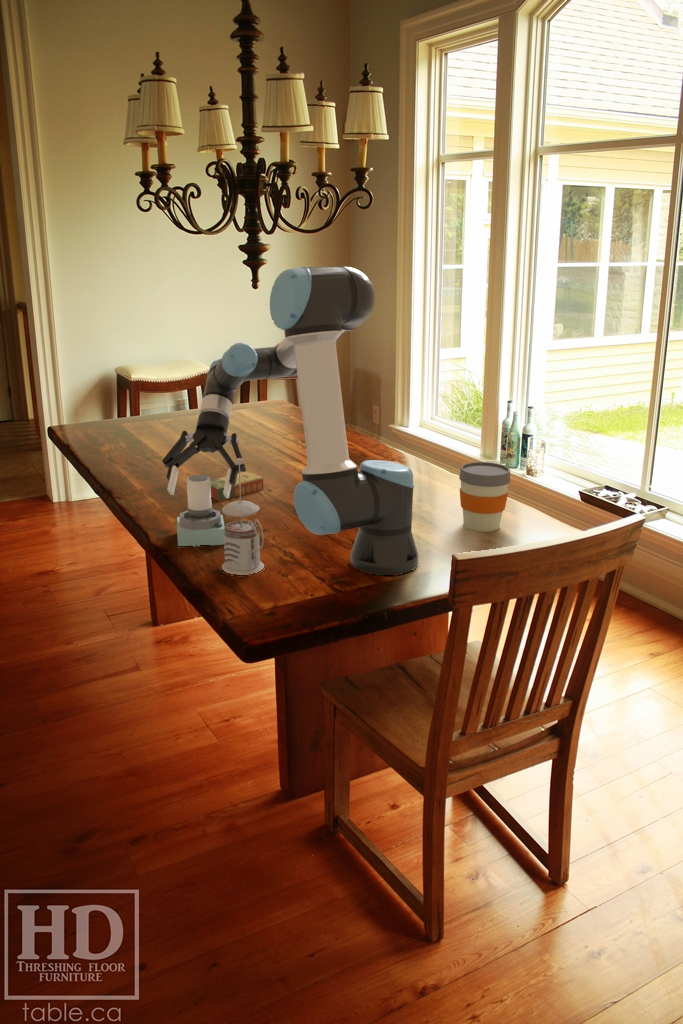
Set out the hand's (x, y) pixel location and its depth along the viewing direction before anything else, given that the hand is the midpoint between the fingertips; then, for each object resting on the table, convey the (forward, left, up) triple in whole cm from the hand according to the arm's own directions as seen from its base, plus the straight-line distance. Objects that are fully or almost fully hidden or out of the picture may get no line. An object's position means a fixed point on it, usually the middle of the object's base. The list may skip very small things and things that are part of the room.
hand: (197, 494), depth 198 cm
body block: (0, 0, -11) cm, 11 cm away
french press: (-20, -9, -12) cm, 25 cm away
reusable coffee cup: (-2, -70, -12) cm, 71 cm away
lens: (0, 0, -7) cm, 7 cm away
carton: (+36, -10, -12) cm, 39 cm away
